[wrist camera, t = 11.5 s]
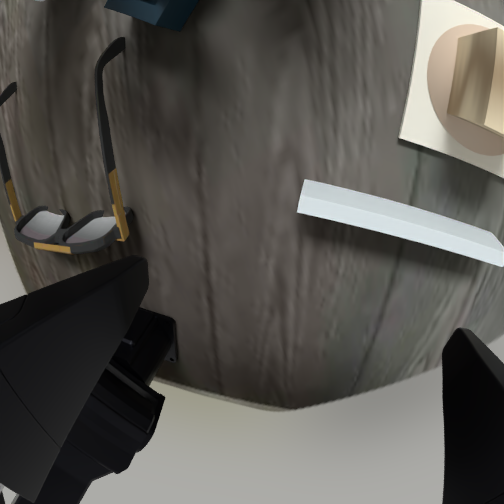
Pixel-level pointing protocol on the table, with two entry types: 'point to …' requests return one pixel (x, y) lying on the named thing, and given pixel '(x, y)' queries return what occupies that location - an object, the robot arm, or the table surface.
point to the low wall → (399, 221)
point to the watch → (155, 11)
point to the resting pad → (446, 88)
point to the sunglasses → (56, 226)
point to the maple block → (479, 81)
